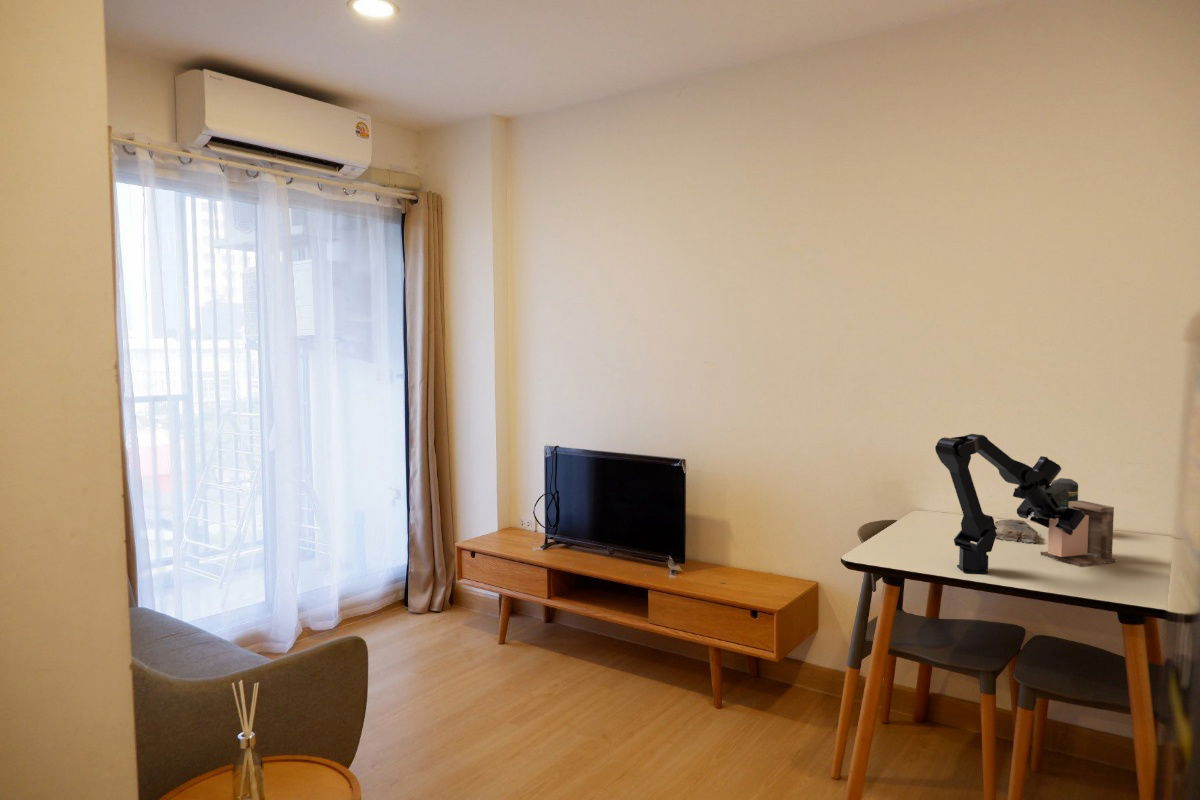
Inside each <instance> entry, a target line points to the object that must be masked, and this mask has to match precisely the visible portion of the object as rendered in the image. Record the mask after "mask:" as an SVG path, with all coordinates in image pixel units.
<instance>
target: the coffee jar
mask: <svg viewBox="0 0 1200 800" xmlns="http://www.w3.org/2000/svg"><path fill="white" fill-rule="evenodd" d="M1050 485H1061V486H1066V487H1067V489H1068V492H1069V495H1070V497H1069V498H1067V499H1065V500H1064V501H1062V502H1061V504H1062V506H1061V507H1060V508H1058V509H1059V510H1063V509H1067V508H1068V506H1069V501H1079V482H1077V481H1076V480H1073V479H1072V478H1064V477H1059V478H1058V479H1054V480H1053V481H1052V483H1051V484H1050Z"/></svg>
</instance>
